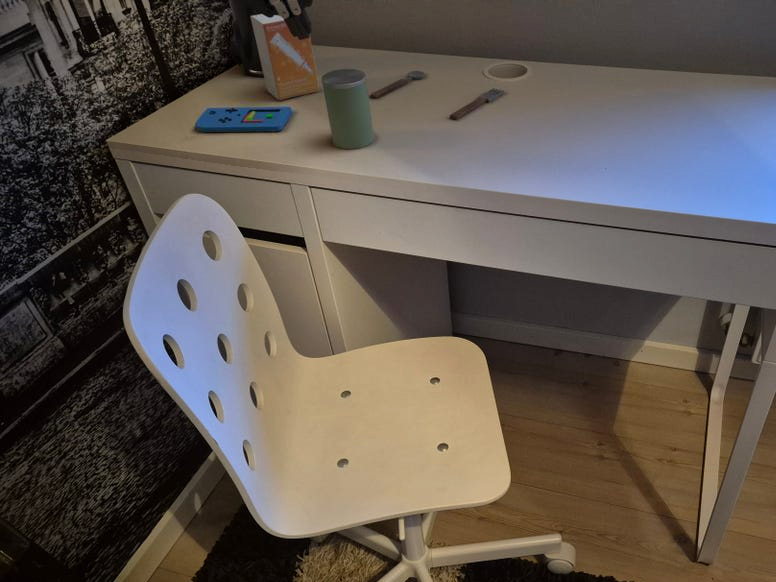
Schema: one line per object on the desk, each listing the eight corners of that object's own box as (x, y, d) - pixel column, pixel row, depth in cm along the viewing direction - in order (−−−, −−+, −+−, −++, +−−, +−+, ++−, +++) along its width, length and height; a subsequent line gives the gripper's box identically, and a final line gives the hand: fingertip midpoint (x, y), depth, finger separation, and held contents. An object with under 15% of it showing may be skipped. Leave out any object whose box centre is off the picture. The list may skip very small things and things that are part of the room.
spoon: (380, 100, 119) (379, 96, 119) (366, 96, 121) (366, 93, 120) (427, 75, 128) (427, 72, 127) (414, 72, 129) (414, 69, 129)
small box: (279, 101, 120) (261, 23, 111) (267, 91, 124) (249, 15, 115) (321, 91, 123) (307, 15, 114) (307, 81, 127) (293, 6, 118)
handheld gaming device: (206, 106, 116) (291, 104, 116) (208, 112, 117) (293, 111, 116) (190, 125, 110) (279, 124, 109) (192, 132, 111) (281, 131, 110)
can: (331, 150, 105) (319, 86, 98) (334, 132, 110) (322, 70, 103) (374, 147, 105) (365, 83, 98) (374, 130, 110) (366, 67, 103)
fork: (459, 120, 112) (458, 117, 112) (447, 117, 113) (447, 114, 113) (504, 93, 120) (504, 90, 120) (493, 90, 121) (493, 87, 121)
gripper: (294, -130, 77) (349, 5, 92) (189, -98, 79) (260, 29, 94) (293, -93, 74) (351, 41, 89) (183, -60, 75) (259, 66, 91)
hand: (304, 35), depth 91 cm, fingers closed
